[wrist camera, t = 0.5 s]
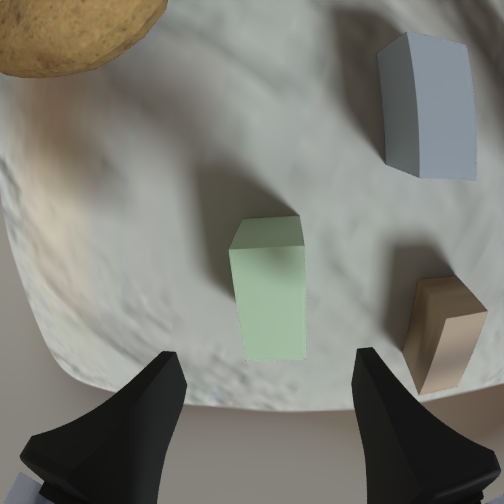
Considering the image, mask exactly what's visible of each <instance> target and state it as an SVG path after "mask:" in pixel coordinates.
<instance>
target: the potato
mask: <svg viewBox="0 0 504 504" xmlns="http://www.w3.org/2000/svg"><path fill="white" fill-rule="evenodd" d="M167 2H168V0H1V1H0V72H1V73H4V74H6V75H10V76H16V77H21V78H47V77H58V76H63V75H69V74H75V73H79V72H84V71H88V70H93V69H96V68H98V67H100V66H102V65H103V64H105V63H107V62H109V61H111V60H112V59H114V58H116V57H118V56H120V55H121V54H122V53H123V52H125V51H126V50H127V49H129V48H130V47H131V46H133V45H134V44H135V43H137V42H138V41H139V40H141V39H142V38H143V37H145V35H146V34H147V33H148V31H149V30H150V29H151V27H152V26H153V25H154V24H155V22H156V21H157V20H158V19H159V17H160V16H161V15H162V14H163V13H164V11H165V10H166V7H167Z"/></svg>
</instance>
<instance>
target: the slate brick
mask: <svg viewBox="0 0 504 504" xmlns="http://www.w3.org/2000/svg"><path fill="white" fill-rule="evenodd" d="M376 56H377V62H378V69H379V77H380V85H381V95H382V105H383V118H384V133H385V158H386V165H388V166H391V167H393V168H396V169H398V170H401V171H404V172H406V173H408V174H411V175H413V176H416V177H418V178H435V179H459V180H476V168H477V133H476V113H475V101H474V91H473V82H472V75H471V68H470V62H469V56H468V51H467V46H466V45H464V44H460V43H456V42H453V41H449V40H445V39H441V38H437V37H432V36H427V35H423V34H417V33H412V32H405V33H404V34H403V35H401V36H400V37H398V38H397V39H396V40H394V41H393V42H392V43H390V44H389V45H388V46H386V47H385V48H384V49H382V50H381V51H380V52H378V53H377V54H376Z"/></svg>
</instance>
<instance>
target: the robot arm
mask: <svg viewBox="0 0 504 504" xmlns="http://www.w3.org/2000/svg"><path fill="white" fill-rule="evenodd" d="M351 385H352V394H353V402H354V408H355V412H356V417H357V421H358V426H359V430H360V434H361V439H362V443H363V448H364V455H365V463H366V476H367V504H481V501H480V500H482V499H483V497H484V496H483V492H482V490H483V489H485V488H486V487H487V486H488V485H489V484H491V483H492V482H493V481H494V480H495V479H496V478H497V477H498V476H499V475H500V473H501V469H500V466H499V463H498V460H497V457H496V455H495V453H494V451H492V450H490V449H488V448H486V447H484V446H481V445H479V444H477V443H475V442H473V441H471V440H469V439H467V438H466V437H464V436H462V435H460V434H459V433H457V432H456V431H454V430H453V429H451V428H450V427H448V426H447V425H445V424H444V423H443V422H441V421H440V420H439V419H437V418H436V417H435V416H434V415H433V414H431V413H430V412H429V411H428V410H427V409H425V407H423V406H422V405H421V404H420V403H419V402H418V401H417V400H416V399H415V398H414V397H413V396H412V395H411V394H410V393H409V391H408V390H407V389H406V388H405V387H404V386H403V385H402V384H401V382H400V381H399V380H398V379H397V378H396V377H395V375H394V374H393V373H392V372H391V371H390V369H389V368H388V367H387V365H386V364H385V363H384V362H383V360H382V359H381V358H380V356H379V355H378V354H377V352H376V351H375V349H374V348H373V347H368V348H359V349H357V353H356V359H355V366H354V371H353V377H352V383H351ZM186 389H187V383H186V380H185V377H184V374H183V371H182V369H181V366H180V363H179V360H178V357H177V354H176V352H170V351H162V352H161V353H160V354H159V355H158V356H157V357H156V358H155V359H153V360H152V361H151V362H150V363H149V364H148V365H147V366H146V367H145V368H144V369H143V370H142V371H141V372H140V373H139V374H138V375H137V376H136V377H134V378H133V379H132V380H131V381H130V382H129V383H128V384H127V385H125V386H124V387H123V388H122V389H121V390H119V391H118V392H117V393H116V394H115V395H113V396H112V397H111V398H110V399H108V400H107V401H105V402H104V403H103V404H101V405H100V406H98V407H97V408H95V409H94V410H92V411H90V412H89V413H87V414H85V415H83V416H81V417H80V418H78V419H76V420H74V421H72V422H70V423H68V424H65V425H63V426H61V427H58V428H56V429H53V430H50V431H47V432H44V433H41V434H37V435H34V436H32V437H31V438H30V440H29V441H28V443H27V445H26V446H25V448H24V449H23V451H22V453H21V454H20V459H21V461H22V462H23V463H24V464H25V465H27V467H28V468H30V469H31V470H32V471H33V472H34V473H35V474H37V475H38V476H39V477H40V478H41V479H43V480H44V483H43V485H41V484H40V483H38V482H36V481H35V480H33V479H32V478H30V477H29V476H27V475H26V474H24V473H22V472H20V473H19V475H18V476H17V478H16V480H15V482H14V483H13V485H12V487H11V489H10V491H9V493H8V495H7V497H6V499H5V500H4V502H3V504H157V498H158V491H159V485H160V479H161V473H162V468H163V464H164V460H165V455H166V452H167V449H168V445H169V442H170V440H171V437H172V435H173V432H174V429H175V426H176V424H177V421H178V418H179V415H180V413H181V410H182V407H183V403H184V399H185V394H186ZM486 504H504V494H503V495H501V496H499V497H497V498H495V499H494V500H491V501H489V502H488V503H486Z"/></svg>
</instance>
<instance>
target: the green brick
mask: <svg viewBox="0 0 504 504" xmlns="http://www.w3.org/2000/svg"><path fill="white" fill-rule="evenodd" d="M229 257H230V264H231V271H232V278H233V285H234V291H235V298H236V305H237V312H238V318H239V325H240V331H241V337H242V344H243V350H244V356H245V361H283V360H306V276H305V245H304V239H303V233H302V227H301V221H300V216H283V217H267V218H251V219H242V221H241V223H240V226H239V228H238V230H237V232H236V234H235V237H234V239H233V241H232V243H231V245H230V248H229Z"/></svg>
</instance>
